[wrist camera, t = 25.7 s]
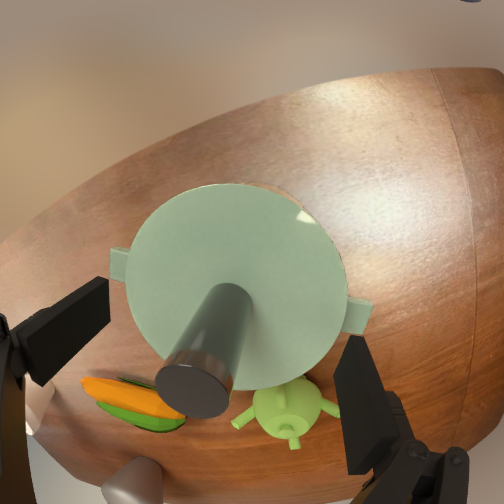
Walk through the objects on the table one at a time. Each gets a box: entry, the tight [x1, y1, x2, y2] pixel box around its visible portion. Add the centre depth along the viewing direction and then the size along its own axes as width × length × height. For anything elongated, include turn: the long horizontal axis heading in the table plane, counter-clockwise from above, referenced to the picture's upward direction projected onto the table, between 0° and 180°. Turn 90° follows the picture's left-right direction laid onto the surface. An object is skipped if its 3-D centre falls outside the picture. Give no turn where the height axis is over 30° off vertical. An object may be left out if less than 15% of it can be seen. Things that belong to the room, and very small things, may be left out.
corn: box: [80, 377, 187, 433], centre depth 37 cm, size 7×8×20 cm
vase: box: [101, 456, 163, 504], centre depth 37 cm, size 14×14×25 cm
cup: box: [25, 374, 55, 435], centre depth 39 cm, size 12×12×14 cm
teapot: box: [231, 375, 340, 450], centre depth 33 cm, size 11×12×8 cm
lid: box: [125, 183, 348, 419], centre depth 14 cm, size 15×15×9 cm
